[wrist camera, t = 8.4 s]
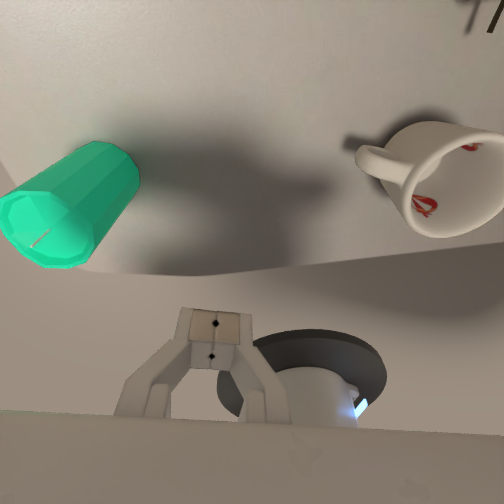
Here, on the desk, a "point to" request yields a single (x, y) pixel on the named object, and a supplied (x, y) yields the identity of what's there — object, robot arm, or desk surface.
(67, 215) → the candle
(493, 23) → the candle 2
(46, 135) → the desk surface
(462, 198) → the cup
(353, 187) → the desk surface
